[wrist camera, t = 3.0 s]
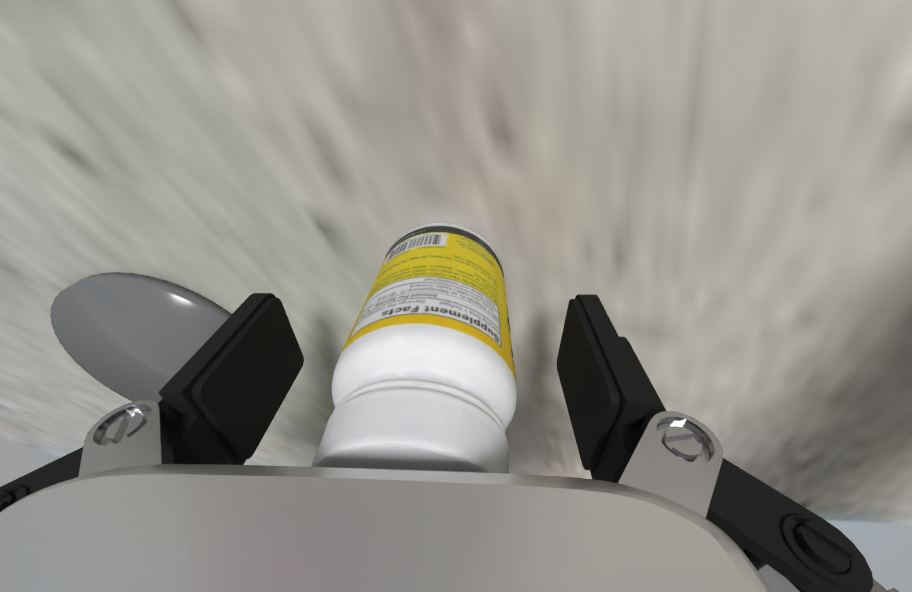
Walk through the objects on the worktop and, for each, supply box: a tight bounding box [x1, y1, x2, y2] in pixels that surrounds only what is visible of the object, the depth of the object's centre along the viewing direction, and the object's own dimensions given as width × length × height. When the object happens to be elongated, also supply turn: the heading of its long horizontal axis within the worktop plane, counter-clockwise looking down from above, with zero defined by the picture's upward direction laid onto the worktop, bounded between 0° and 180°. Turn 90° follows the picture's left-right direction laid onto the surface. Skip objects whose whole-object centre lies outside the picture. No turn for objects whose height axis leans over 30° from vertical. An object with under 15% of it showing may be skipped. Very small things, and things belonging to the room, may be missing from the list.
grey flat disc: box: [50, 272, 231, 404], centre depth 17 cm, size 10×10×1 cm
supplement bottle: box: [311, 223, 517, 474], centre depth 10 cm, size 5×5×8 cm
